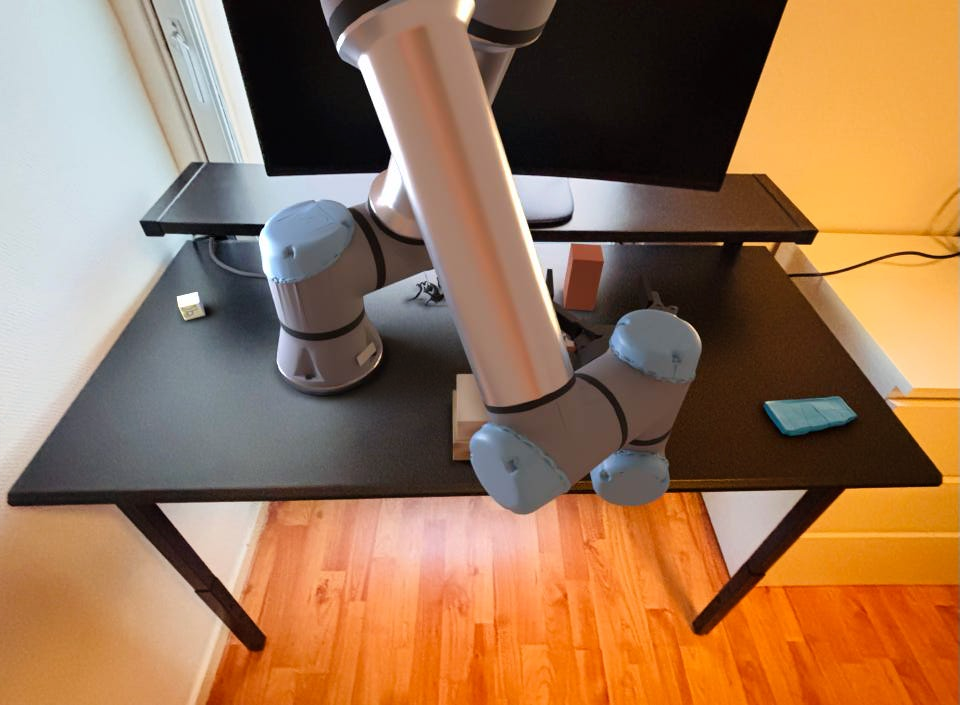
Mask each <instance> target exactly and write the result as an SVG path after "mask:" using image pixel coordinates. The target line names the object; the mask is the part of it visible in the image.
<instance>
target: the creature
mask: <svg viewBox="0 0 960 705" xmlns="http://www.w3.org/2000/svg"><path fill="white" fill-rule="evenodd" d="M423 273H424V274H425V275H424V276H425V279H426V280H424V281H420V283H416V285H415V287H418V288H419V291H418V293H416V295H415V296H413V297H412V298H409V299H406V302H410V301H415V300H417V299H419V300H420V303H421V304H423V305H424V306H425V307H427V306H428V304H429V302H434V304H436V305H437V304H439V303H440V302H442V301H443V300H444V299H445V296H444V294H443V292H442V293H440V290H439V289H442V288H441V286H440V283H439V280H438V277H437V276H436V281H437V285H436V284H434V283H432V282H430V281H429V280H428V277H427V274H426V271H424V272H423ZM422 285H423V286H422ZM425 286H426V287H425ZM432 292H433V293H432ZM421 293H424V294H427V295H429V296H430V298H429V299H427V301H426V303H425V302H422V300H423V298H419V296H420V295H421Z"/></svg>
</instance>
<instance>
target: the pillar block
mask: <svg viewBox="0 0 960 705" xmlns="http://www.w3.org/2000/svg"><path fill="white" fill-rule="evenodd" d="M568 253H569V254H568V258H567V259H568V260H567V265H566V270H565V277H564V281H563V282H564V283H563V288H562V298H563V308H565V309H566V310H574V311H575V310H577V311H590V312H591V311H592V312H593V311H595V310H594V309H595V305H596V301H597V296H598V292H599V288H600V287H599V286H600V283H601V278H602V274H603V268H604V265H605V258H604V253H603V248H602V245H601V244H591V243H590V244H589V243H588V244H587V243H574V242H572V243H570V247H569V252H568Z"/></svg>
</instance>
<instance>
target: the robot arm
mask: <svg viewBox="0 0 960 705" xmlns="http://www.w3.org/2000/svg"><path fill="white" fill-rule="evenodd" d="M319 2H320V5H321V9H322V12H323V15H324V18H325V21H326V25H327V27H328V30H329V32H330V36H331V38H332V40H333V43H334V46H335V49H336V51H337V53H338V55H339V57H340V58H341V61H344V62H346V63H348V64H350V66H353V67H355V68H356V69H358V70H359V71H360V72H361V75H362V77H363V80H364V83H365V85H366V88H367V90H368V94H369V96H370V98H371V102H372V104H373V107H374V110H375V113H376V115H377V118H378V120H379V123H380V125H381V129H382V131H383V134H384V137H385V138H386V143H387V145H388V147H389V150H390V153H391V154H390V159H389V162H388V166H387V168H386V169H385V170H383V171H381V172H380V173H378V175H377V176H375V178H373V180H372V182H371V185H370V188H369V191H368V196H367V200H365V202H361V203H358V204H355V205H352V206H350V207H349V206H348V207H347V206H346V205H345V204H343V203H341V202H339V201H337V200H332V199H320V200H318V201H315V200H314V199H309V200H304V201H299V202H297V203H294V204H292V205H289V206H287V207H285V208H282V209H280V210H279V211H278V212H276V213H275V214H273V215H272V216H271V217H270V218H269V219H268V220H267V221H266V223H265V225H264V227H263V228H262V229H261V231H260V234H259V240H258V243H259V249H260V255H261V265H262V271H263V273H261V272H250V271H244V270H240V269H238V268H235V267H232V266H230V265H228V264H226V263H224V262H222V261H221V260H220V259H219V258H218V257H217V256H216V254H215V251H214V240H215V239H216V236H215V237H210V236H209V239H208V251H209V255H210V258H211V259H212V260H213V261H214V262H215V263H216V264H217V265H218V266H220V267H221V268H222V269H224V270H226V271H229V272H231V273H233V274H236V275H240V276H242V277H243V276H244V277H249V278H250V277H251V278H261V279H267V282H268V285H269V288H270V293H271V296H272V300H273V303H274V306H275V310H276V314H277V317H278V320H279V324H280V330H279V338H278V344H277V345H278V346H277V353H276V363H277V366H278V370H279V374H280V376H281V377H282V379H283V381H284V382H285V383H286V384H287V385H288V386H290V387H291V388H293V389H294V390H296V391H299V392H300V393H305V394H308V395H315V396H330V395H331V396H332V395H338V394H343V393H346V392H349V391H351V390H354V389H356V388H358V387H361V386H362V385H364V384H366V383H367V382H368V381H369V380H371V379H372V378H373V377H374V376H375V375H376V374H377V372H378V371H379V370H380V368H381V366H382V364H383V362H384V346H383V341H382V338H381V336H380V334H379V332H378V330H377V328H376V327H375V325H374V324H373V322H372V320H371V318H370V316H369V315H368V314H367V312H366V308H365V300H364V297H365V296H367V295H370V294H372V293H374V292H377V291H379V290H381V289H385V288H387V287H389V286H391V285H394V284H396V283H399V282H401V281H404V280H407V279H409V278H411V277H414V276H416V275H419V274H422V273H424V272H428V271H433V270H434V273H435V275H436V278H437V277H438V280H439V283H440V286H441V288H440V289H441V291H442V293H443V294H444V299H445V301H446V304H447V307H448V310H449V313H450V315H451V319H452V320H453V323H454V326H455V329H456V331H457V334H458V337H459V340H460V342H461V345H462V348H463V350H464V353H465V356H466V358H467V360H468V364H469V366H470V369H471V373H472V374H473V375H474V378H475V380H476V383H477V386H478V388H479V391H480V394H481V396H482V399H483V402H484V405H485V408H486V411H487V415H488V418H489V421H490V422H489V423H487V424H485V425H483V426H482V429H480V430H479V431H477V432H476V433H475V434H474V435H473V437H472V439H471V440H470V445H469V447H470V452H471V455H470V456H471V460H470V464H471V466H472V468H473V471H474V473H475V475H476V477H477V479H478V480H479V482H480V484H481V486H482V487H483V488H484V490H485V491H486V493H487V494H488V495H489V496H490V497H491V498H492V500H494V502H495V503H497V504H498V505H499V506H500V507H502V508H503V509H505V510H507V511H510V512H512V513H514V514H515V515H522V516H527V515H530V514H533V513H535V512H537V511H538V510H540V509H542V508H543V507H544V506H546V505H548V504H549V503H550V502H552V501H554V500H556V499H558V498H559V497H561V496H562V495H564V494H568V492H569V491H570V489H571V488H572V487H573V486H575V485H576V484H577V483H578V482H579V481H581V480H582V479H583V478H584V477H586V476H587V475H588V474H589V475H590V479H591V480H590V481H591V484H592V488H593V490H594V492H595V493H596V495H597V496H598V497H599V498H600V499H602V500H604V501H605V502H607V503H609V504H611V505H615V506H620V507H641V506H644V505H648V504H651V503H653V502H655V501H657V500H659V499H660V498H662V497H663V496H664V494H666V492H668V489H669V487H670V482H671V479H670V478H671V477H670V472H669V466H670V464H669V460H668V458H666V454H665V452H666V451H665V450H666V445H667V443H668V440H669V438H670V435H671V433H672V430H673V426H674V424H675V421H676V419H677V416H678V414H679V412H680V409H681V408H682V404H683V402H684V400H685V397H686V395H687V393H688V391H689V388H690V385H691V383H692V382H693V381H694V380H695V378H696V376H697V374H696V369H697V367H698V364H699V360H700V357H701V354H702V350H703V349H702V348H703V347H702V341H701V338H700V336H699V335H700V334H698V332H697V331H696V329H695V328H694V327H693V326H692V325H691V324H690V323H689V322H687V321H686V320H684V319H682V318H679V317H678V316H677V313H678V309H679V307H677V306H676V305H668V306H664V304H663V303H662V302H661V299H660V296H659V293H658V292H657V291H654V290H653V291H652V289H651V286H650V283H649V280H648V276H647V274H646V273H640V276H639V279H638V284H637V287H636V292H637V295H638V300H639V302H640V303H639V304H640V307H641V309H638V310H634V311H630V312H628V313H626V314H624V315H623V316H622V317H621V318H620V319H619V320H618V321H617V323H616V324H601V323H590V322H589V321H587V320H586V319H585V318H583V317H581V318H578V317H577V316H576V315H575V314H573V313H571V312H570V311H569V310H568V309H565V308H564V306H562V305H561V304H559V303H557V301H555V300H554V298H555V288H554V286H555V285H554V272H553V271H554V270H553V268H547V269H546V275H544V272H543V269H542V266H541V262H540V260H539V255H538V252H537V250H536V246H535V244H534V240H533V236H532V234H531V230H530V228H529V224H528V220H527V218H526V214H525V212H524V208H523V204H522V201H521V198H520V195H519V192H518V189H517V186H516V182H515V179H514V176H513V173H512V170H511V167H510V164H509V161H508V157H507V154H506V151H505V147H504V144H503V142H502V138H501V135H500V132H499V129H498V125H497V122H496V118H495V116H494V113H493V109H492V105H493V102H494V100H495V99H496V96H497V94H498V91H499V89H500V86H501V84H502V82H503V79H504V76H505V75H506V72H507V71H508V68H509V65H510V63H511V62H512V58H513V56H514V54H515V51H516V49H518V48H523V47H526V46H529V45H531V44H533V43H534V42H536V41H537V40H538V39H539V37H540V36H541V35H542V32H543V30H544V28H545V27H546V25H547V24H546V23H547V22H548V20H549V18H550V15H551V13H552V11H553V9H554V7H555V4H556V2H557V0H319ZM567 336H569V337H570V339H569V338H568V337H567ZM569 352H570V353H572V352H573V353H574V355H575V356H576V358H577V365H578V366H577V367H578V369H577V370H575V371H574V368H573V364H572V361H571V358H570V355H569Z"/></svg>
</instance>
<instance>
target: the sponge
mask: <svg viewBox="0 0 960 705" xmlns="http://www.w3.org/2000/svg"><path fill="white" fill-rule="evenodd" d="M763 408H764V409H765V412H766V414H767V415H768V416H769V418H770V419H771V420H772V421H773V423H774V424H775V426H776V427H777V429H778V430H779V431H780V432H781V434H782V435H787V436H790V437H792V436H800V435H806V434H809V433H810V432H817V431H821V430H826V429H827V428H828V429H829V428H832V427H839V426H840V427H841V426H844V425H846V424H847V423H851V421H853V420H855V419H856V418H857V417H858V415H857V414H856V412H855V411H854V410H853V409H852V408H851V407H849V405H848V404H847V403H846V402H845V401H844V399H843V398H842V397H840V396H828V397H816V398H804V399H803V398H800V399H782V400H771V401H770V400H768V401H764V403H763Z"/></svg>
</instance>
